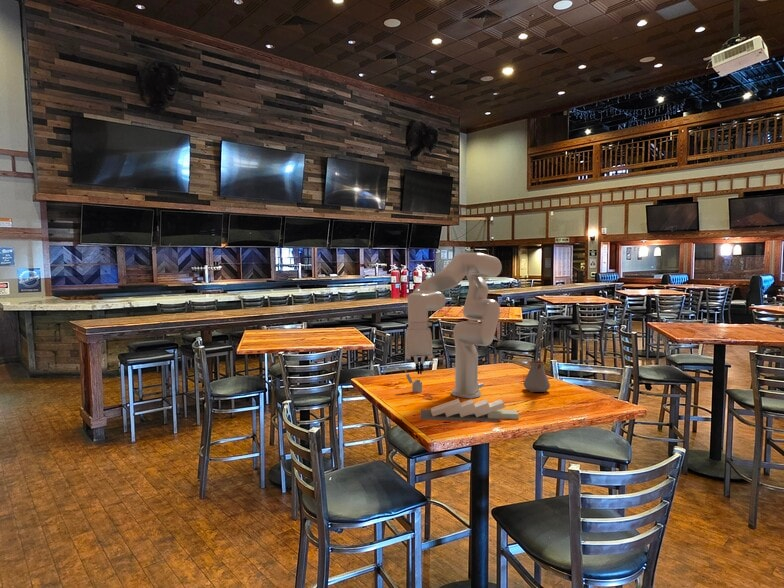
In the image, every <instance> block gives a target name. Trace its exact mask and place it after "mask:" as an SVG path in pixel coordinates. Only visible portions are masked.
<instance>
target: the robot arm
mask: <svg viewBox="0 0 784 588" xmlns="http://www.w3.org/2000/svg"><path fill="white" fill-rule="evenodd" d="M502 268H503V266H502V262H501V261H500V259H499V258H498V257H496V256H492V255H490V254H486V253H482V252H460V253H457V254H456V255H455V256H453V258H452V259H451V260H450V262H449V263H448V264H447V265H446V266H445V267H444V268H443V269H442V270H441V271H440V272H438V273H436V274H434V275H432V276H430V277H428V278H426V279H425V280H423V281H422V282H420V284H418V286H417V287H415V289H413V291H412V293H409V294H408V296H407V324H408V327H407V328H406V331H405V356H404V358H405V359H406V360H407V359H408V360H411V361H412V362H414V364H415V372H417V375H423V372H424V364H425V362H426V361H427V360H429V359H432V358H434V354H433V339H432V337H433V336H432V331H431V328H430V327H432V326H433V322H432V321H431V322H430V321H429V311H434V312H435V311H439V310H442V309H443V308H444V307H445V306H446V303H447V302H446V301H447V299H446V296H445V294H444V293H442V292H443V291H448V290H451V289H453V288H456V287H458V285H459V284H460V283H461V282H462V280H463V279H464V278H465V277H466V278H467V281H468V291H467V294H466V298H465V303H464V306H463V308H462V313H463V317H464V318H465V319H468V320H471V321H465V320H464V321H460V322H457V323H455V325H454V326H453V341H454V346H455V347H454V348H455V360H454V361H455V362H454V363H455V365H454V367H455V368H454V369H455V370H454V371H455V375H454V379H455V380H454V388H453V389H452V390H451V392H450V393H451V395H452V396H454V397H456V396H457V398H461V399H463V398H464V399H474V398H480V397H481V395H482V392H481V391H480V390H479V389H481V388H483V387H484V386H485V385H484V383H483V382H479V381H478V378H479V377H478V375H479V373H478V372H479V370H478V369H479V354H478V350H477V347H476V346H481V347H487V346H490V345H491V344H492V343H493V340H494V337H495V335H496V331H497V327H498V323H499V319H500V315H501V308H500V304H499V302H498V301H497V300H495V299H491V298H488V294H489V286H488V284H487V282H486V281H485V279H484V278H496V277H497V276H499V275H500V274H501V273H502ZM476 321H480V322H476ZM420 356H421V357H420ZM418 357H420V360H419V359H418Z"/></svg>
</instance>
